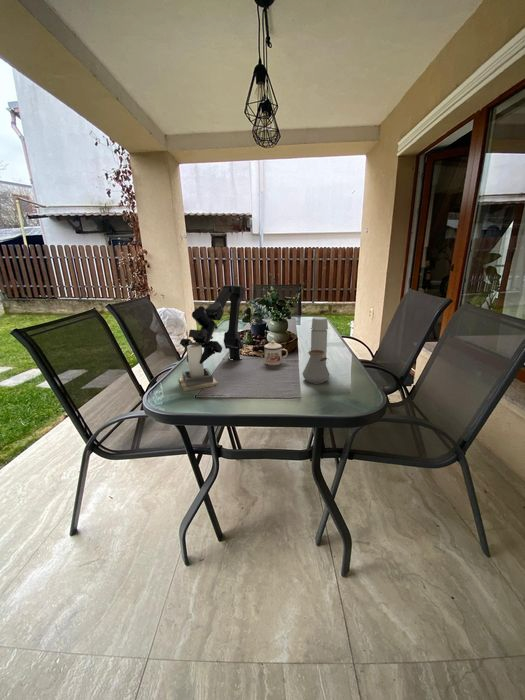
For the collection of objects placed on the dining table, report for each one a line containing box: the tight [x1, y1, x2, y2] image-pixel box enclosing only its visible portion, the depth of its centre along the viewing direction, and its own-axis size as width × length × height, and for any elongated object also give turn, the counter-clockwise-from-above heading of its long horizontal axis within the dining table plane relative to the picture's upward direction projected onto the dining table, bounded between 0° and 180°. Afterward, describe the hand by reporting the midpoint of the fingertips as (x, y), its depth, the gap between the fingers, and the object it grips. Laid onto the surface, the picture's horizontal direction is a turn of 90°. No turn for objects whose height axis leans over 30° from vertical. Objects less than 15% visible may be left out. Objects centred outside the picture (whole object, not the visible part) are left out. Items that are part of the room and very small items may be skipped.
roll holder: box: [178, 367, 219, 392], centre depth 125 cm, size 14×14×4 cm
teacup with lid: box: [263, 340, 289, 366], centre depth 147 cm, size 12×9×12 cm
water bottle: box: [310, 316, 329, 365], centre depth 133 cm, size 9×8×25 cm
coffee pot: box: [302, 349, 330, 385], centre depth 118 cm, size 21×12×15 cm, turn 3°
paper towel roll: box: [186, 344, 204, 379], centre depth 123 cm, size 6×6×14 cm
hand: (194, 362), depth 122 cm, fingers closed on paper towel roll, 6 cm apart
